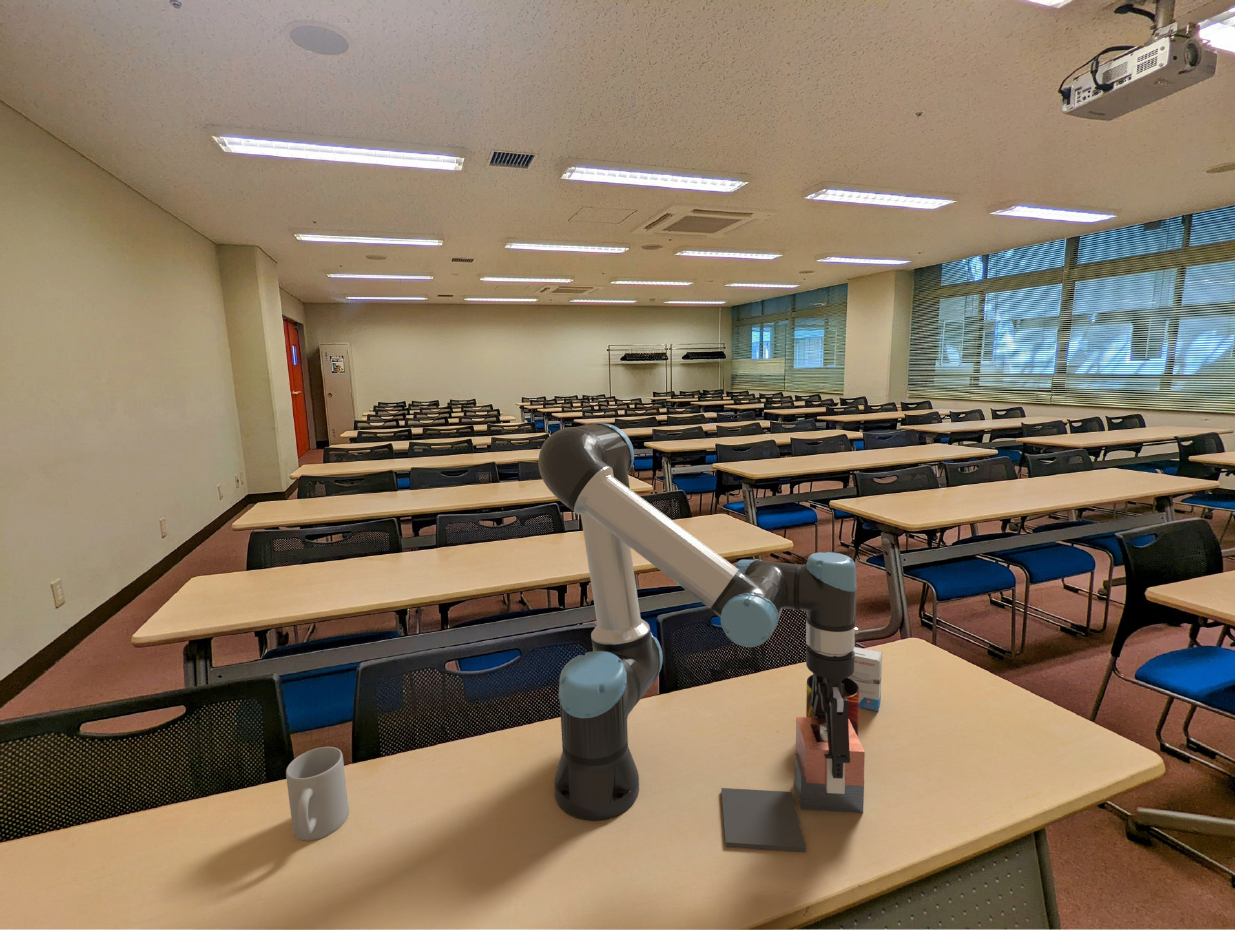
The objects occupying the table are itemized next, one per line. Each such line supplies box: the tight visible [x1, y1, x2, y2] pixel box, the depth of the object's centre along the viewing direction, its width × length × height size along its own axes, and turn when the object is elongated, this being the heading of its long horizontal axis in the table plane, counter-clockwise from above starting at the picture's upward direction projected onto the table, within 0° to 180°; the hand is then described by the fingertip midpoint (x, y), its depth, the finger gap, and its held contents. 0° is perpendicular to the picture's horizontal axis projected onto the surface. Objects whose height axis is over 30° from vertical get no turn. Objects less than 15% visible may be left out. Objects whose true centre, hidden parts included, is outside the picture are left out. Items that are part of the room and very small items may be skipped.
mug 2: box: [805, 674, 860, 738], centre depth 114 cm, size 10×14×12 cm
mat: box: [720, 787, 807, 853], centre depth 93 cm, size 12×12×1 cm
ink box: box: [848, 646, 883, 712], centre depth 125 cm, size 8×5×12 cm, turn 58°
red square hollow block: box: [795, 716, 866, 787], centre depth 96 cm, size 9×9×6 cm
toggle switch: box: [793, 723, 865, 814], centre depth 96 cm, size 10×6×13 cm, turn 83°
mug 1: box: [285, 746, 350, 842], centre depth 93 cm, size 12×8×11 cm
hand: (827, 771), depth 96 cm, fingers closed on red square hollow block, 9 cm apart
